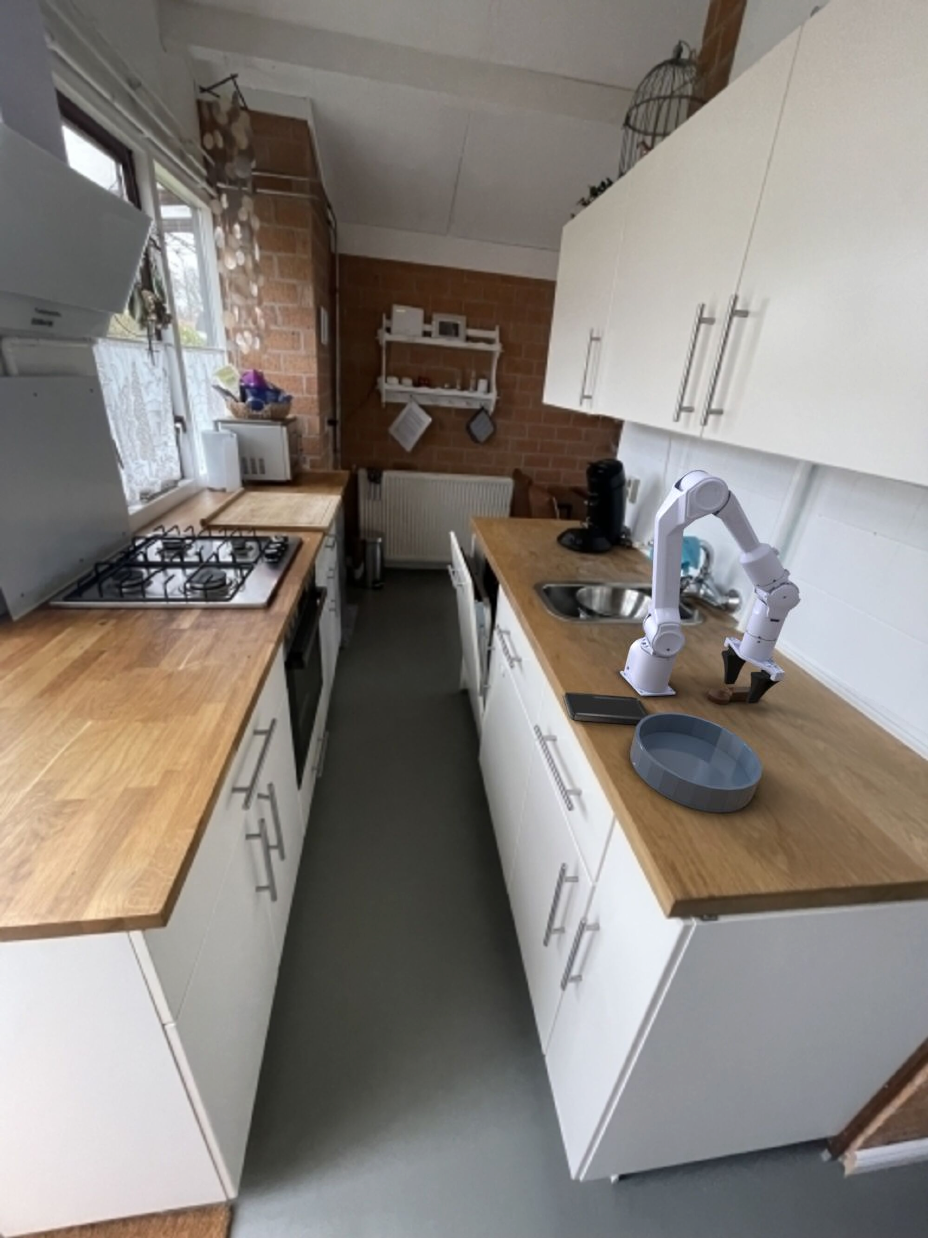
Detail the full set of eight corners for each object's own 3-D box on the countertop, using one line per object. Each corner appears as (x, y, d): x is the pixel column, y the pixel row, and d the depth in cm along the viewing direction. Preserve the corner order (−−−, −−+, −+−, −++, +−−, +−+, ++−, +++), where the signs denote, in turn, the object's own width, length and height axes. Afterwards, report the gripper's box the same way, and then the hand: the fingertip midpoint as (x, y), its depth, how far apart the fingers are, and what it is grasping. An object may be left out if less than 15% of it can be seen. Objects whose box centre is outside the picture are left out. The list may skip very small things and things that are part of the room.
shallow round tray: (609, 735, 91) (615, 715, 89) (704, 729, 95) (711, 709, 94) (670, 818, 74) (678, 795, 72) (781, 806, 78) (791, 784, 77)
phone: (651, 721, 94) (571, 714, 94) (650, 725, 95) (570, 719, 94) (638, 697, 102) (564, 691, 101) (637, 702, 102) (563, 696, 102)
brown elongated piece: (715, 705, 104) (718, 696, 103) (703, 694, 107) (706, 685, 106) (760, 702, 106) (764, 694, 105) (747, 692, 110) (750, 683, 109)
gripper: (807, 651, 95) (782, 711, 101) (752, 618, 108) (733, 673, 114) (775, 652, 94) (752, 713, 99) (724, 618, 106) (705, 674, 112)
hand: (740, 692), depth 106 cm, fingers open, 6 cm apart
